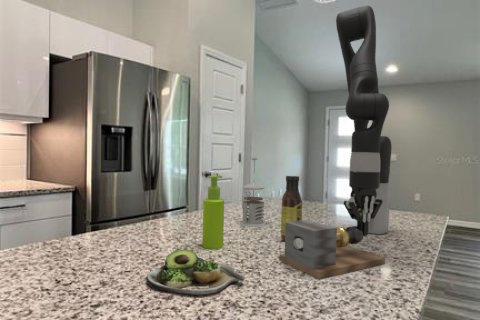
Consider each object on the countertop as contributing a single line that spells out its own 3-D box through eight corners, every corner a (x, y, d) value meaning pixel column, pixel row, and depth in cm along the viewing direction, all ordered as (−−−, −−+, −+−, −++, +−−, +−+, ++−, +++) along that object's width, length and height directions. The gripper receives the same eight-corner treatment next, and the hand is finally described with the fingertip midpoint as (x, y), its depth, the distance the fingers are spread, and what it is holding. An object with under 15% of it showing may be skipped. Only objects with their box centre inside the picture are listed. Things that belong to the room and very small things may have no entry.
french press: (270, 223, 129) (272, 157, 128) (255, 229, 119) (257, 157, 118) (248, 220, 134) (249, 156, 133) (231, 225, 124) (233, 156, 124)
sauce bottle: (300, 243, 102) (302, 176, 101) (279, 242, 103) (281, 176, 102) (301, 238, 108) (303, 175, 108) (281, 236, 109) (283, 174, 109)
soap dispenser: (227, 243, 100) (229, 175, 99) (218, 250, 93) (219, 176, 93) (209, 241, 102) (210, 174, 101) (198, 247, 95) (200, 175, 95)
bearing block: (341, 249, 97) (342, 214, 97) (385, 263, 85) (386, 223, 85) (279, 260, 86) (280, 220, 86) (319, 279, 74) (320, 232, 73)
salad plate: (257, 273, 77) (257, 253, 77) (224, 307, 60) (225, 281, 60) (182, 261, 84) (182, 243, 84) (134, 288, 68) (135, 265, 67)
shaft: (348, 241, 92) (349, 223, 92) (363, 246, 87) (364, 227, 87) (289, 251, 82) (290, 230, 81) (303, 257, 77) (304, 235, 77)
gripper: (369, 168, 97) (367, 230, 97) (335, 169, 90) (333, 234, 90) (393, 170, 90) (390, 236, 91) (359, 171, 83) (356, 241, 84)
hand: (362, 235), depth 90 cm, fingers closed
